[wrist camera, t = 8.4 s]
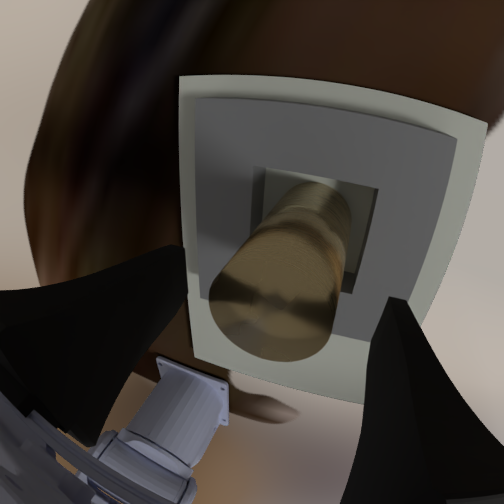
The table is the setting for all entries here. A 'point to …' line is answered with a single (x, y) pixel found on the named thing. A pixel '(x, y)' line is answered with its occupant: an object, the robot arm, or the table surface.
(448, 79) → the table surface
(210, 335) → the socket plate
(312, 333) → the brass rounded knob
